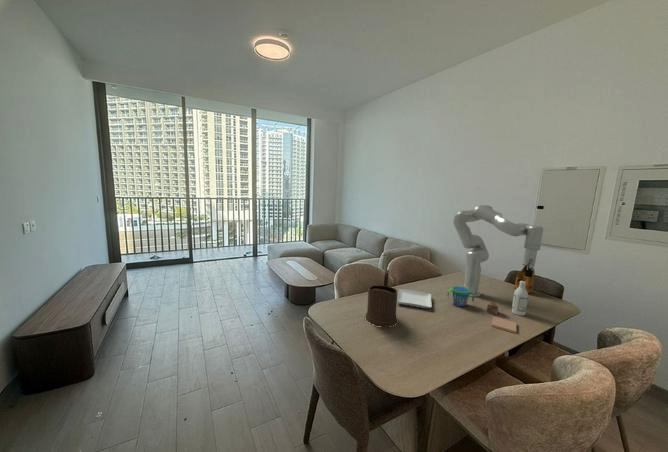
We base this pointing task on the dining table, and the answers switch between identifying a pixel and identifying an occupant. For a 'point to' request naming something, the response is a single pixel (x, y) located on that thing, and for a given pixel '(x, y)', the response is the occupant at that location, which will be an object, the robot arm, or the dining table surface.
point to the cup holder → (382, 304)
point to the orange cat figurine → (525, 280)
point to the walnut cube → (492, 308)
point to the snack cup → (460, 295)
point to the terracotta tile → (504, 324)
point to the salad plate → (414, 298)
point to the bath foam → (520, 299)
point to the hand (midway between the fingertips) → (527, 274)
